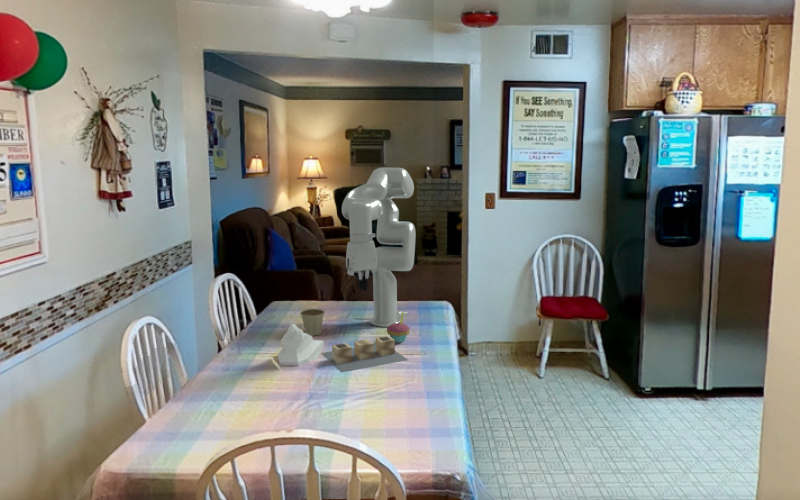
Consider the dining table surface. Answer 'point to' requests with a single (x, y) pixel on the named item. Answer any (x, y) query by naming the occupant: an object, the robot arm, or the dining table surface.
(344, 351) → the digit block
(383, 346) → the digit block
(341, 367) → the mat
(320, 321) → the flower pot
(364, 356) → the plain block
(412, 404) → the dining table surface
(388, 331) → the cupcake
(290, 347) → the white faceted lump
